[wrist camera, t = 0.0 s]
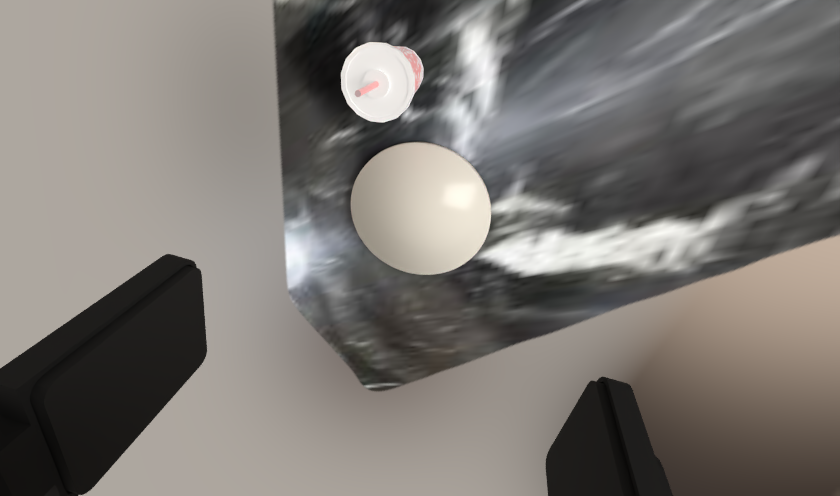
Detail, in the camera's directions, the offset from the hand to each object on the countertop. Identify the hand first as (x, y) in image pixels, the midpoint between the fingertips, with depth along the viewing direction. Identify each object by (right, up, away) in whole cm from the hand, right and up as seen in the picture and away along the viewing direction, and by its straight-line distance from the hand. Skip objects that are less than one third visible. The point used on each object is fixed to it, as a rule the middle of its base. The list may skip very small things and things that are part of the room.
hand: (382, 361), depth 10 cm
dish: (+1, +7, +38) cm, 39 cm away
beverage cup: (-1, +20, +32) cm, 38 cm away
